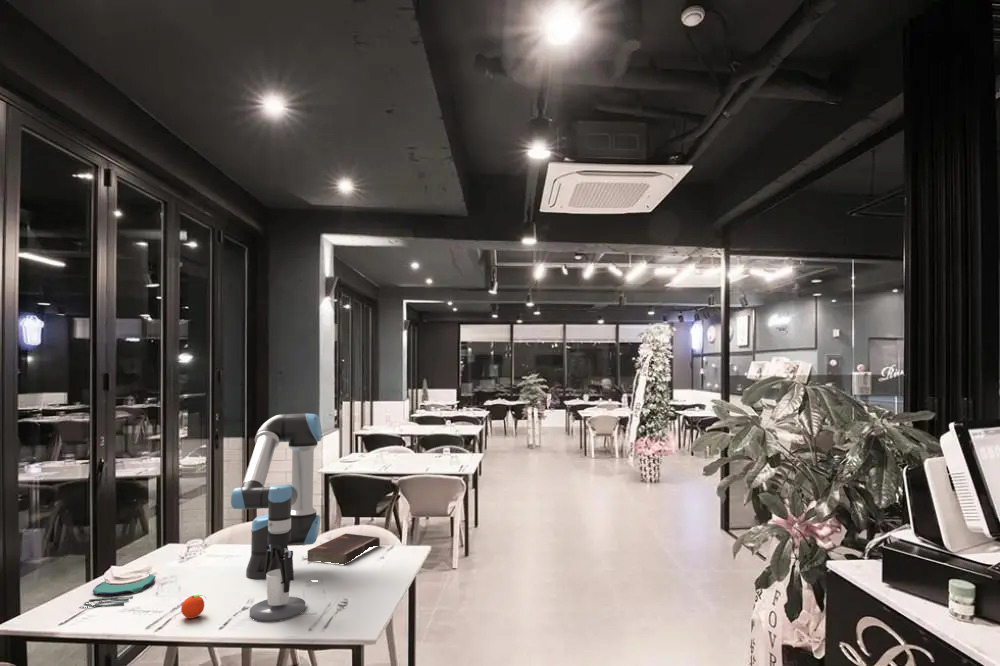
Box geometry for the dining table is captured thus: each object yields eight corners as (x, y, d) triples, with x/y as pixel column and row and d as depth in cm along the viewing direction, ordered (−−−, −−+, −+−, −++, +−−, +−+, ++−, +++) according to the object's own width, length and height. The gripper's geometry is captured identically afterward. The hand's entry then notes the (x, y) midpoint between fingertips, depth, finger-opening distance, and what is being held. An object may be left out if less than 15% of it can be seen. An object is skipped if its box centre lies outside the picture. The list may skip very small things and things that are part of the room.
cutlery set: (163, 577, 235) (163, 571, 235) (128, 607, 205) (128, 600, 206) (110, 580, 232) (110, 574, 232) (66, 612, 202) (66, 605, 202)
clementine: (201, 610, 201) (202, 589, 201) (211, 615, 196) (211, 593, 197) (177, 618, 194) (178, 596, 195) (186, 623, 190) (186, 601, 191)
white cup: (260, 605, 197) (261, 575, 197) (274, 597, 204) (274, 568, 205) (281, 607, 195) (282, 577, 196) (294, 598, 203) (295, 569, 204)
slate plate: (239, 612, 198) (239, 608, 198) (287, 596, 212) (287, 592, 212) (267, 626, 187) (267, 622, 187) (315, 609, 201) (316, 604, 201)
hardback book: (344, 566, 247) (344, 554, 248) (307, 562, 253) (307, 550, 254) (379, 547, 275) (379, 536, 275) (345, 543, 281) (345, 533, 281)
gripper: (254, 528, 205) (252, 595, 203) (285, 538, 192) (284, 609, 191) (273, 524, 211) (272, 588, 209) (305, 533, 198) (304, 602, 196)
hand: (278, 598), depth 200 cm, fingers closed on white cup, 7 cm apart
